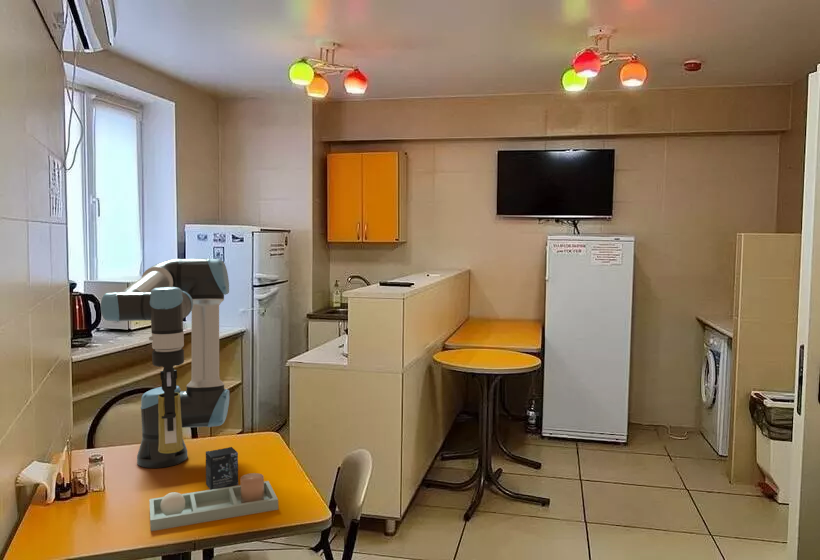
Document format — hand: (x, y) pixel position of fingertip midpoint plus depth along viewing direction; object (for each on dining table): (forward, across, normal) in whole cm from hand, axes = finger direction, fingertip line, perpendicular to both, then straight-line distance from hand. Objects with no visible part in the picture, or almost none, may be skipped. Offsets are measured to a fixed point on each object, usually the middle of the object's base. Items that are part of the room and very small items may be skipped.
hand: (170, 438), depth 164 cm
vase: (+3, 0, 0) cm, 3 cm away
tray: (+21, 0, +10) cm, 23 cm away
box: (+21, -16, +13) cm, 30 cm away
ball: (+20, +1, 0) cm, 20 cm away
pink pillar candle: (+20, 0, +20) cm, 28 cm away
